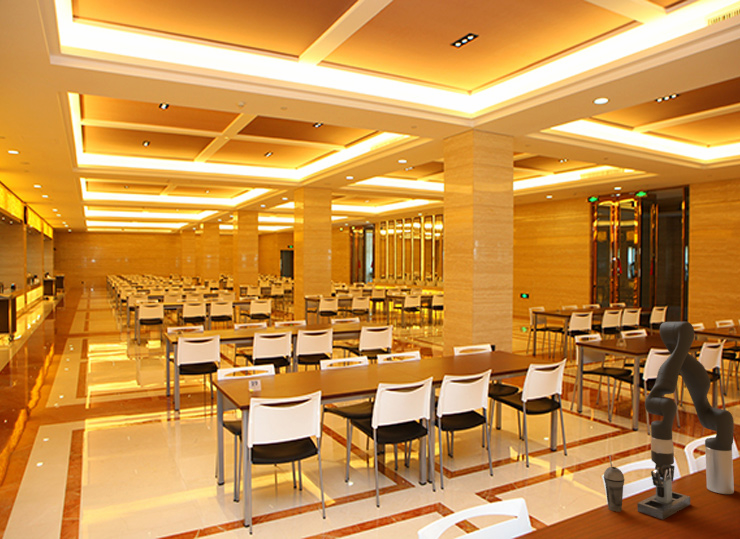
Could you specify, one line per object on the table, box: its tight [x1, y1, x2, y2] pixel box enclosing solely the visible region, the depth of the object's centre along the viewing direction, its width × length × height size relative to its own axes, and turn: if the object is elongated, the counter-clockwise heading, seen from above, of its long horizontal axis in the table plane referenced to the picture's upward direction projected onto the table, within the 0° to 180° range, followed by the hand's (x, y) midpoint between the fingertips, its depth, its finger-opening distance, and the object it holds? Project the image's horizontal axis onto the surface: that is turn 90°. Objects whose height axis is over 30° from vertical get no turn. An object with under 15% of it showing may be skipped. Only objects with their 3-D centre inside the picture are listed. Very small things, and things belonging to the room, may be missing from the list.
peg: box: [655, 477, 673, 504], centre depth 193 cm, size 4×4×10 cm
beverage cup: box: [603, 454, 625, 513], centre depth 192 cm, size 7×7×20 cm
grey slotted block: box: [637, 490, 691, 520], centre depth 193 cm, size 22×9×3 cm, turn 125°
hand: (663, 495), depth 193 cm, fingers open, 4 cm apart
